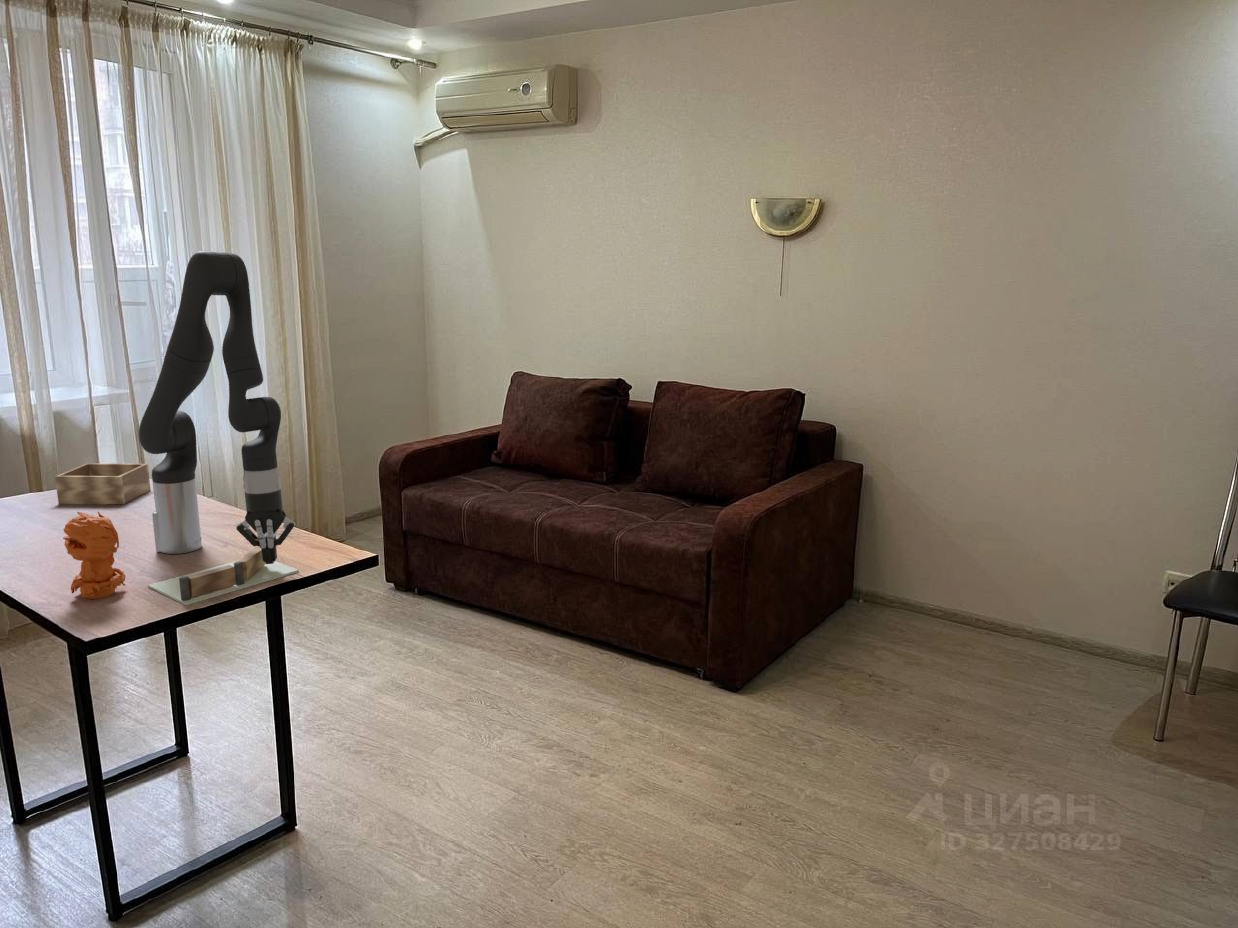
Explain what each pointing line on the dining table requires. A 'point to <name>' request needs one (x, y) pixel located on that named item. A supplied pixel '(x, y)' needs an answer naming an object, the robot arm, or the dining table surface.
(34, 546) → the dining table surface
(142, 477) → the toy crate
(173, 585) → the card
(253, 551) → the rail
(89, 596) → the toy dinosaur
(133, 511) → the dining table surface
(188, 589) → the fence fixed
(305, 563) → the dining table surface
